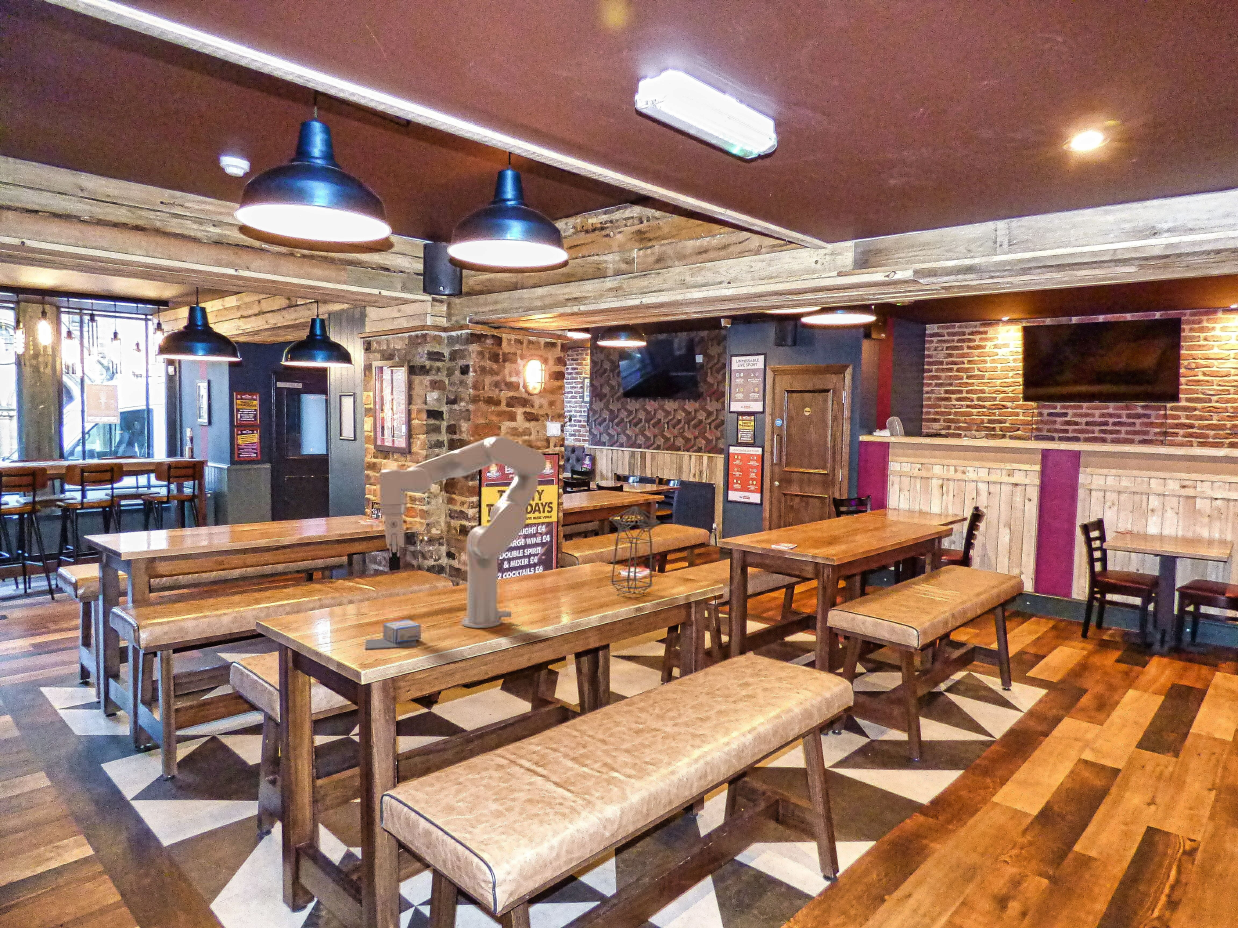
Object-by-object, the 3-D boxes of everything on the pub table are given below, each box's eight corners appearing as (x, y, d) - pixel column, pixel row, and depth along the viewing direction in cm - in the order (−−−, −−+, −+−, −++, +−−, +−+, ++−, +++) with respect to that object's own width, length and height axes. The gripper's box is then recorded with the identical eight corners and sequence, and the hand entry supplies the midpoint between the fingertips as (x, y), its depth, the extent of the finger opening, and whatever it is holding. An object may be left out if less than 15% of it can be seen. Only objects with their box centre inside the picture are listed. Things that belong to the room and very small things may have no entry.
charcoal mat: (415, 638, 215) (415, 636, 215) (416, 646, 207) (417, 645, 207) (366, 640, 211) (366, 639, 211) (365, 649, 202) (365, 648, 202)
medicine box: (407, 618, 218) (421, 624, 212) (407, 633, 219) (421, 639, 212) (382, 623, 213) (396, 628, 207) (382, 638, 213) (396, 644, 207)
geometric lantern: (629, 589, 293) (634, 503, 292) (659, 597, 282) (664, 508, 281) (602, 594, 282) (606, 505, 280) (631, 602, 271) (636, 509, 269)
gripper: (406, 511, 214) (408, 573, 215) (405, 506, 229) (406, 564, 230) (380, 512, 212) (381, 574, 213) (380, 507, 226) (382, 565, 227)
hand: (394, 569), depth 221 cm, fingers closed
